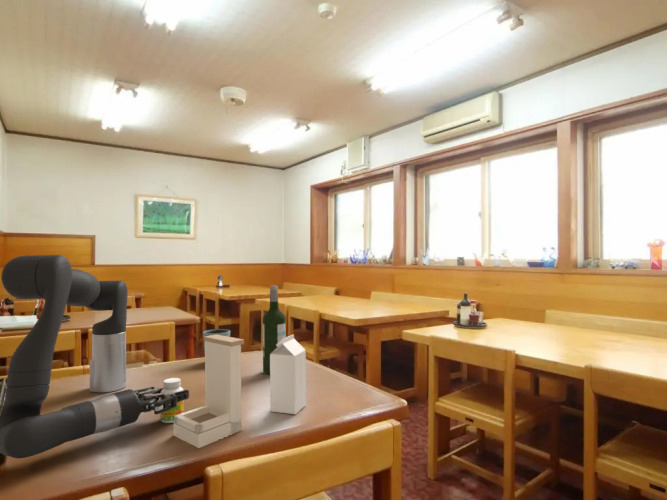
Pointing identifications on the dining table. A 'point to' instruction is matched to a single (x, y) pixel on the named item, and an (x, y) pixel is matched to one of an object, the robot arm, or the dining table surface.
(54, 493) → the dining table surface
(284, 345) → the milk carton
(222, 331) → the drinking glass
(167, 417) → the supplement bottle
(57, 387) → the dining table surface
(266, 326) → the wine bottle
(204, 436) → the white feeder tower
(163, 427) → the dining table surface
